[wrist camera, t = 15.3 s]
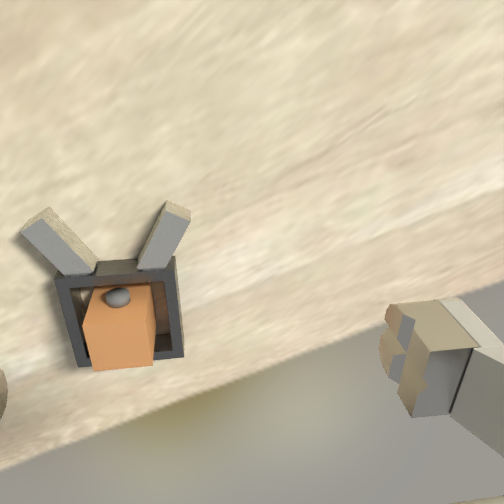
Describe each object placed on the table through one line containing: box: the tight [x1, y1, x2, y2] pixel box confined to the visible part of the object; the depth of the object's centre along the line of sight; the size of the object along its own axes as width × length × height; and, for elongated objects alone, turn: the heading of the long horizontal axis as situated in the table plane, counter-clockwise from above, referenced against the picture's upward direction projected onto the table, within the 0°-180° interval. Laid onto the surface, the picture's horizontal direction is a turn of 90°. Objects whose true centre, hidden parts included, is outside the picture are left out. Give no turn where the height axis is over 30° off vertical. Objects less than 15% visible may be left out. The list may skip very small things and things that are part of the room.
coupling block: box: [82, 282, 156, 371], centre depth 40 cm, size 5×7×6 cm
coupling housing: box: [21, 201, 191, 367], centre depth 40 cm, size 13×16×2 cm
